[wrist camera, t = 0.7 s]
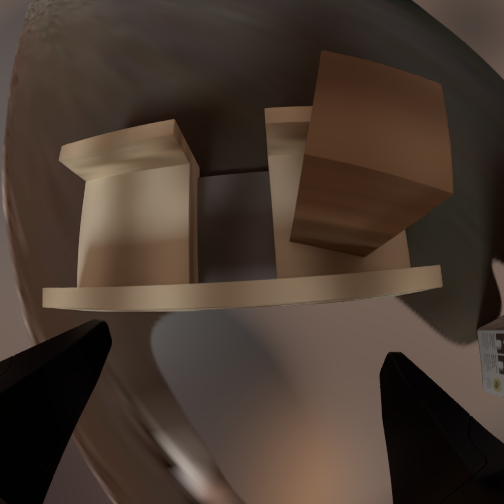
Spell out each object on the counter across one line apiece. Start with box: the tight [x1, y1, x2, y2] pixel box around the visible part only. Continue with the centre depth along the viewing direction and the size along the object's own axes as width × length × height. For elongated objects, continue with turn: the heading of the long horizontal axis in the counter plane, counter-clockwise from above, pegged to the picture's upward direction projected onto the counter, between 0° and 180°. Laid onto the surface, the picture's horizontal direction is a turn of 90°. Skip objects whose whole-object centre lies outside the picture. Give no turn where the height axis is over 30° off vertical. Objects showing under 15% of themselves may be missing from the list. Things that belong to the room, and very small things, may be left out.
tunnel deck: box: [43, 106, 443, 312], centre depth 19 cm, size 24×11×7 cm, turn 93°
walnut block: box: [290, 50, 453, 257], centre depth 14 cm, size 5×5×11 cm
